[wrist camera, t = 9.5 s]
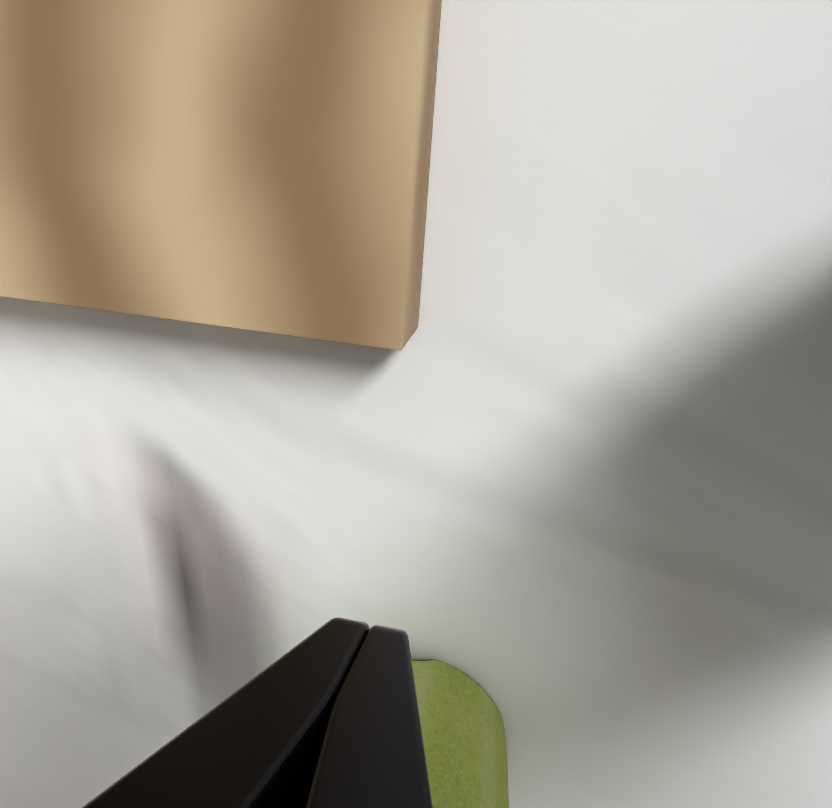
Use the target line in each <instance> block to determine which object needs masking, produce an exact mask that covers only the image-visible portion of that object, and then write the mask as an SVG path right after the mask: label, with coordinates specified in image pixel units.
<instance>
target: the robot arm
mask: <svg viewBox="0 0 832 808" xmlns="http://www.w3.org/2000/svg"><path fill="white" fill-rule="evenodd" d="M82 808H433V804H432V798H431V791H430V784H429V777H428V770H427V763H426V756H425V750H424V743H423V736H422V729H421V722H420V715H419V709H418V702H417V695H416V688H415V681H414V674H413V668H412V661H411V654H410V647H409V640H408V635H407V634H406V632H405V631H403V630H398V629H393V628H388V627H383V626H378V625H375V626H373V627H371V628H369V626H368V625H367V624H366V623H364V622H359V621H354V620H349V619H344V618H334V619H332V620H330V621H329V622H327V623H326V624H325V625H323V626H322V627H321V628H319V629H318V630H317V631H315V632H314V633H313V634H311V635H310V636H309V637H307V638H306V639H305V640H303V641H302V642H301V643H299V644H298V645H297V646H295V647H294V648H293V649H291V650H290V651H289V652H288V653H286V654H285V655H284V656H282V657H281V658H280V659H278V660H277V661H276V662H274V663H273V664H272V665H270V666H269V667H268V668H266V669H265V670H264V671H262V672H261V673H260V674H258V675H257V676H256V677H254V678H253V679H252V680H250V681H249V682H248V683H246V684H245V685H244V686H243V687H241V688H240V689H239V690H237V691H236V692H235V693H233V694H232V695H231V696H229V697H228V698H227V699H225V700H224V701H223V702H221V703H220V704H219V705H217V706H216V707H215V708H213V709H212V710H211V711H209V712H208V713H207V714H205V715H204V716H203V717H201V718H200V719H199V720H198V721H196V722H195V723H194V724H192V725H191V726H190V727H188V728H187V729H186V730H184V731H183V732H182V733H180V734H179V735H178V736H176V737H175V738H174V739H172V740H171V741H170V742H168V743H167V744H166V745H164V746H163V747H162V748H160V749H159V750H158V751H156V752H155V753H154V754H153V755H151V756H150V757H149V758H147V759H146V760H145V761H143V762H142V763H141V764H139V765H138V766H137V767H135V768H134V769H133V770H131V771H130V772H129V773H127V774H126V775H125V776H123V777H122V778H121V779H119V780H118V781H117V782H115V783H114V784H113V785H111V786H110V787H109V788H108V789H106V790H105V791H104V792H102V793H101V794H100V795H98V796H97V797H96V798H94V799H93V800H92V801H90V802H89V803H88V804H86V805H85V806H84V807H82Z"/></svg>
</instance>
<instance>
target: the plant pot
mask: <svg viewBox="0 0 832 808" xmlns="http://www.w3.org/2000/svg"><path fill="white" fill-rule="evenodd" d="M411 661H412V668H413V674H414V681H415V688H416V695H417V702H418V709H419V715H420V722H421V729H422V736H423V743H424V750H425V756H426V763H427V770H428V777H429V784H430V791H431V798H432V804H433V808H509V800H508V772H507V753H506V738H505V731H504V725H503V720H502V717H501V715H500V712H499V710H498V708H497V706H496V705H495V703H494V702H493V700H492V698H491V697H490V696H489V695H488V694H487V692H486V691H485V690H484V689H483V688H482V687H481V686H480V685H479V684H477V683H476V682H475V681H474V680H473V679H471V678H470V677H469V676H467V675H466V674H464V673H463V672H461V671H459V670H458V669H456V668H454V667H452V666H450V665H448V664H446V663H444V662H441V661H437V660H429V661H415V660H411Z"/></svg>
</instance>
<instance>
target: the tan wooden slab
mask: <svg viewBox="0 0 832 808" xmlns="http://www.w3.org/2000/svg"><path fill="white" fill-rule="evenodd" d="M441 1H442V0H0V296H3V297H11V298H18V299H25V300H33V301H40V302H48V303H55V304H62V305H70V306H77V307H84V308H92V309H99V310H106V311H114V312H121V313H129V314H136V315H143V316H151V317H158V318H165V319H173V320H180V321H187V322H195V323H202V324H210V325H217V326H224V327H232V328H239V329H246V330H254V331H261V332H268V333H276V334H283V335H291V336H298V337H305V338H313V339H320V340H327V341H335V342H342V343H349V344H357V345H364V346H371V347H379V348H386V349H394V350H402V348H403V347H404V346H405V344H406V343H407V341H408V340H409V339H410V337H411V336H412V334H413V333H414V332H415V330H416V329H417V327H418V319H419V305H420V291H421V277H422V264H423V250H424V236H425V222H426V208H427V195H428V181H429V167H430V153H431V139H432V125H433V112H434V98H435V84H436V70H437V56H438V43H439V29H440V15H441Z"/></svg>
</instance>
